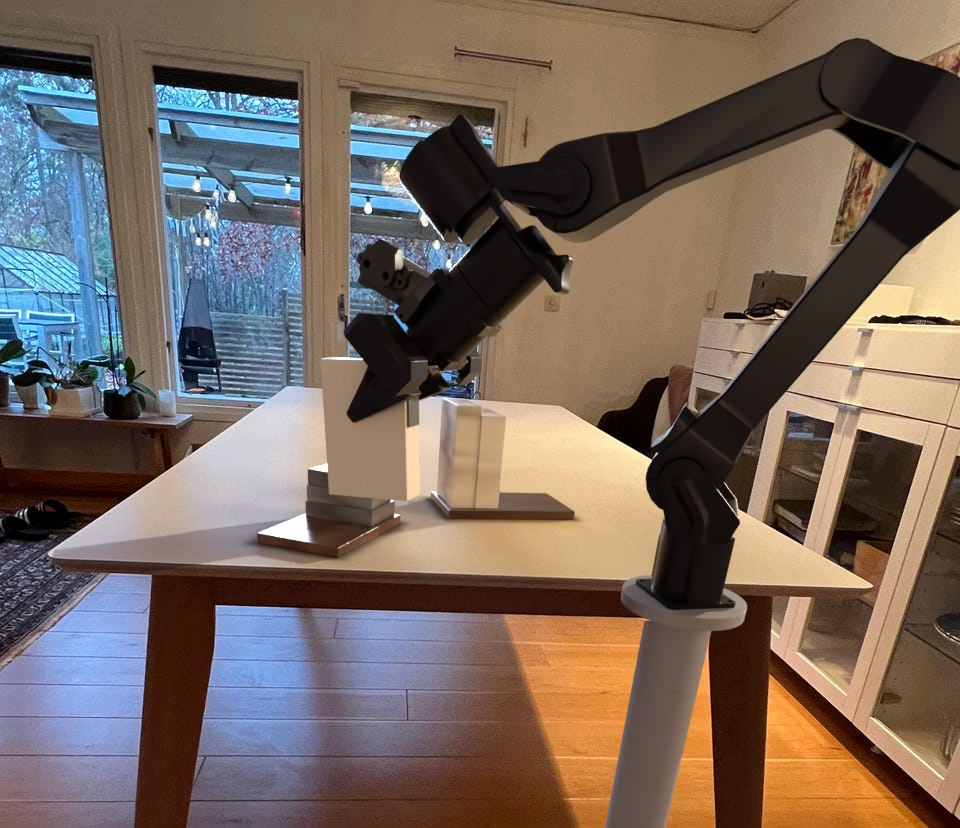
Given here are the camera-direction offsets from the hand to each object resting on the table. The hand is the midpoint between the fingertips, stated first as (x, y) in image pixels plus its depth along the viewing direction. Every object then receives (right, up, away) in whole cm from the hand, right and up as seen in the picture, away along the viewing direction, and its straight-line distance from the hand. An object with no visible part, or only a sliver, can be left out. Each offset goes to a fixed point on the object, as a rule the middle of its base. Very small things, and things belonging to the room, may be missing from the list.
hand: (359, 416), depth 66 cm
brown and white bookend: (+14, -3, +28) cm, 31 cm away
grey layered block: (-5, -9, +12) cm, 15 cm away
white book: (+1, -7, +2) cm, 7 cm away
